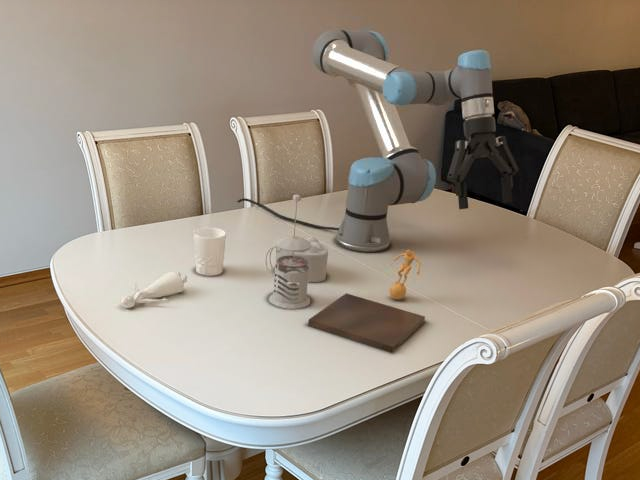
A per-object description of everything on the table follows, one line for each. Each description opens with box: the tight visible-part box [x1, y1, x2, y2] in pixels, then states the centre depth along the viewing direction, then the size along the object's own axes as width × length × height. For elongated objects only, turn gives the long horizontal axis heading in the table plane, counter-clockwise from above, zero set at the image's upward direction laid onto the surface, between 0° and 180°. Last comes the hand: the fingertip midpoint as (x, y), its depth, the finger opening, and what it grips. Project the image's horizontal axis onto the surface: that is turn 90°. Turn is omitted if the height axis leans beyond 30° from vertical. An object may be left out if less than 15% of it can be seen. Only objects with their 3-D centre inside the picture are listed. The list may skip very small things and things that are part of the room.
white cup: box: [192, 227, 227, 277], centre depth 174 cm, size 8×8×10 cm
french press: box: [265, 194, 312, 310], centre depth 158 cm, size 10×12×25 cm
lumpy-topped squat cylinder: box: [274, 235, 329, 283], centre depth 177 cm, size 10×13×9 cm
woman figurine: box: [120, 271, 188, 309], centre depth 159 cm, size 12×4×18 cm
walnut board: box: [307, 293, 426, 353], centre depth 155 cm, size 20×18×2 cm
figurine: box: [388, 249, 421, 301], centre depth 166 cm, size 8×6×12 cm
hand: (486, 205), depth 177 cm, fingers open, 13 cm apart
